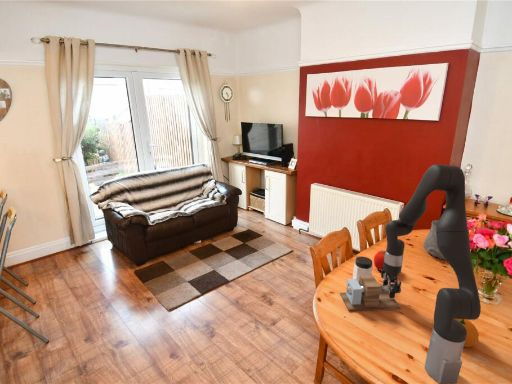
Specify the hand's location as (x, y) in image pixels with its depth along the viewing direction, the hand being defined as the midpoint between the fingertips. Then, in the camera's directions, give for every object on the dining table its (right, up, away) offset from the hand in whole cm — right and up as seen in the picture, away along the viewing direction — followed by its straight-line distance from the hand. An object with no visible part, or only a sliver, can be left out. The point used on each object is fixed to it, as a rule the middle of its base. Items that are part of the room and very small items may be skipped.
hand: (388, 292), depth 138 cm
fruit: (+19, -12, -21) cm, 30 cm away
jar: (-6, 0, +17) cm, 19 cm away
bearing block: (-10, -5, +1) cm, 11 cm away
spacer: (-17, -3, 0) cm, 17 cm away
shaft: (-8, 0, 0) cm, 8 cm away
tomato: (+9, +4, +28) cm, 29 cm away
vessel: (+50, +9, +43) cm, 67 cm away
